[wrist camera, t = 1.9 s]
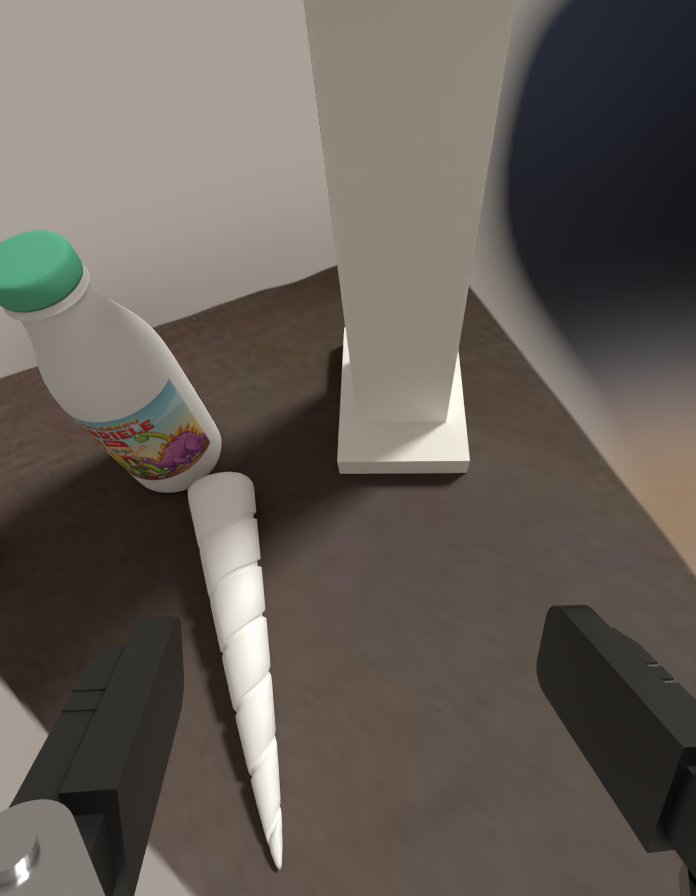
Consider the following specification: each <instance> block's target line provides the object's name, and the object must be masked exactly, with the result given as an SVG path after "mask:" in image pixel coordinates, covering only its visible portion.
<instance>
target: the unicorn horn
mask: <svg viewBox="0 0 696 896" xmlns="http://www.w3.org/2000/svg"><path fill="white" fill-rule="evenodd" d="M188 502H189V506H190V511H191V515H192V520H193V524H194V529H195V534H196V538H197V543H198V547H199V548H200V557H201V562H202V567H203V572H204V576H205V581H206V586H207V591H208V595H209V598H210V604H211V610H212V614H213V619H214V624H215V628H216V633H217V637H218V642H219V647H220V651H221V652H222V653H223V655H222V660H223V665H224V670H225V674H226V679H227V683H228V687H229V692H230V696H231V701H232V705H233V709H234V710H235V711H236V712H237V714H236V722H237V727H238V731H239V735H240V739H241V743H242V747H243V752H244V756H245V760H246V764H247V768H248V772H249V774H250V775H251V776H252V779H251V784H252V788H253V792H254V796H255V800H256V803H257V807H258V811H259V815H260V818H261V822H262V826H263V829H264V833H265V836H266V840H267V842H268V845H269V846H270V852H271V855H272V857H273V860H274V863H275V865H276V867H277V868H278V869H279V870H280V869H281V866H282V819H281V809H280V800H281V799H280V784H279V769H278V755H277V742H276V738H275V731H276V728H275V715H274V703H273V690H272V679H271V674H270V672H268V671H269V668H270V655H269V644H268V633H267V622H266V618H265V617H263V616H262V613H263V612H264V611H265V600H264V589H263V579H262V568H261V566H259V567H258V563H257V560H260V559H261V558H260V547H259V537H258V526H257V519H255V518H253V515H255V513H256V504H255V492H254V486H253V483H252V481H251V480H250V479H249V478H248V477H247V476H246V475H243V474H241V473H237V472H221V473H215V474H211V475H207V476H204V477H202V478H200V479H198V480H196V481H195V482H194V483H193V484H192V485H191V486H190V487H189V489H188Z"/></svg>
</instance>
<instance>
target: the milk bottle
mask: <svg viewBox="0 0 696 896" xmlns="http://www.w3.org/2000/svg"><path fill="white" fill-rule="evenodd" d="M0 306H2V307H3V308H4V310H5V312H6V313H7V314H8V315H9V316H11V317H13V318H15V319H17V320H20V321H21V322H22V323H23V325H24V327H25V328H26V330H27V332H28V334H29V337H30V339H31V341H32V344H33V347H34V350H35V354H36V358H37V363H38V366H39V370H40V373H41V375H42V378H43V380H44V382H45V384H46V386H47V387H48V389H49V391H50V393H51V394H52V395H53V397H54V398H55V399H56V401H57V402H58V403H59V405H60V406H61V407H62V408H63V409H64V410H65V411H66V412H67V413H68V414H69V415H70V416H71V417H72V418H73V420H74V421H75V422H76V423H77V424H78V425H79V426H81V427H82V428H83V429H84V430H85V431H86V432H87V433H88V434H89V435H90V436H91V437H92V438H93V439H94V440H95V441H96V442H97V443H98V444H99V445H100V446H101V447H102V448H103V449H104V450H105V451H106V452H108V453H109V454H110V455H111V456H112V457H113V458H114V459H115V460H116V461H117V462H118V463H119V464H120V465H121V466H122V467H123V468H124V469H126V470H127V471H128V472H129V473H130V474H131V475H132V476H133V477H134V478H135V479H136V480H137V481H139V482H140V483H141V484H142V485H144V486H145V487H147V488H148V489H151V490H153V491H157V492H165V493H171V492H179V491H183V490H186V489H189V487H190V486H191V485H192V484H193V483H194V482H195V481H196V480H198V479H200V478H202V477H204V476H207V475H209V474H210V472H211V471H212V470H213V469H214V467H215V465H216V464H217V462H218V459H219V456H220V452H221V436H220V433H219V431H218V429H217V427H216V425H215V423H214V422H213V420H212V418H211V417H210V415H209V413H208V412H207V410H206V408H205V407H204V405H203V403H202V402H201V400H200V398H199V397H198V395H197V393H196V392H195V390H194V388H193V387H192V385H191V384H190V382H189V380H188V379H187V377H186V375H185V374H184V372H183V371H182V369H181V367H180V366H179V364H178V363H177V361H176V359H175V358H174V356H173V355H172V353H171V352H170V350H169V349H168V347H167V346H166V344H165V343H164V342H163V340H162V339H161V338H160V337H159V335H158V334H157V333H156V332H155V331H154V329H152V328H151V327H150V326H149V325H148V324H147V323H146V322H145V321H144V320H142V319H141V318H140V317H139V316H137V315H136V314H134V313H132V312H131V311H130V310H128V309H126V308H124V307H123V306H121V305H119V304H117V303H116V302H114V301H112V300H111V299H109V298H108V297H107V296H105V295H104V294H103V293H102V292H100V291H99V290H98V289H97V288H96V287H94V286H93V284H92V283H91V282H90V275H89V272H88V270H87V268H86V267H85V266H84V265H82V262H81V260H80V258H79V257H78V255H77V253H76V252H75V250H74V249H73V248H72V246H71V245H70V244H69V242H68V241H67V240H66V239H65V238H63V237H62V236H61V235H60V234H58V233H55V232H52V231H45V230H35V231H28V232H24V233H20V234H17V235H14V236H12V237H10V238H8V239H6V240H4V241H2V242H0Z"/></svg>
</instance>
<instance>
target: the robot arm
mask: <svg viewBox="0 0 696 896" xmlns="http://www.w3.org/2000/svg"><path fill="white" fill-rule="evenodd" d="M536 668H537V676H538V681H539V684H540V687H541V689H542V691H543V693H544V694H545V696H546V698H547V699H548V701H549V702H550V704H551V705H552V707H553V708H554V710H555V711H556V713H557V715H558V716H559V718H560V719H561V721H562V722H563V724H564V725H565V727H566V728H567V730H568V731H569V733H570V735H571V736H572V738H573V739H574V741H575V742H576V744H577V745H578V747H579V748H580V750H581V752H582V753H583V755H584V756H585V758H586V759H587V761H588V762H589V764H590V765H591V767H592V768H593V770H594V772H595V773H596V775H597V776H598V778H599V779H600V781H601V782H602V784H603V785H604V787H605V788H606V790H607V792H608V793H609V795H610V796H611V798H612V799H613V801H614V802H615V804H616V805H617V807H618V809H619V810H620V812H621V813H622V815H623V816H624V818H625V819H626V821H627V822H628V824H629V825H630V827H631V829H632V830H633V832H634V833H635V835H636V836H637V838H638V839H639V841H640V842H641V844H642V846H643V847H644V849H645V850H646V852H647V853H651V852H660V851H669V850H675V851H676V852H677V854H678V855H679V856H680V858H681V859H682V861H683V864H682V866H681V869H680V873H679V885H680V896H696V700H695V699H694V698H693V697H692V696H691V695H690V694H689V693H688V692H687V691H686V690H685V689H684V688H683V687H682V686H681V685H680V684H679V683H675V682H674V678H673V677H672V676H671V675H670V674H669V673H668V672H667V671H666V670H665V669H664V668H663V667H662V666H658V662H657V661H656V660H655V659H654V658H653V657H652V656H651V655H650V654H649V653H648V652H647V651H646V650H645V649H644V648H643V647H641V646H640V645H639V644H638V643H637V642H635V641H634V640H632V639H631V638H629V637H627V636H626V635H624V634H623V633H621V632H620V631H618V630H616V629H615V628H611V627H610V626H609V625H608V624H607V623H606V622H605V621H604V620H603V619H602V618H601V617H600V616H599V615H598V614H597V613H596V612H595V611H594V610H593V609H592V608H591V607H589V606H587V605H563V606H552V607H550V608H549V610H548V612H547V615H546V620H545V624H544V629H543V634H542V639H541V644H540V648H539V653H538V658H537V666H536ZM183 691H184V671H183V654H182V637H181V623H180V619H179V617H155V618H140V619H139V620H138V621H137V623H136V625H135V627H134V629H133V631H132V634H131V636H130V638H129V640H128V642H127V645H126V646H108V647H106V648H105V649H104V650H103V651H102V652H101V653H100V654H99V655H98V656H97V657H96V658H94V659H93V660H92V661H91V662H90V663H89V664H88V665H87V666H86V667H85V669H84V671H83V672H82V674H81V676H80V678H79V680H78V682H77V683H76V685H75V687H74V689H73V693H72V695H70V696H69V698H68V700H67V702H66V704H65V706H64V708H63V709H62V714H61V716H59V717H58V719H57V720H56V722H55V724H54V726H53V728H52V730H51V732H50V733H49V735H48V737H47V739H46V741H45V743H44V745H43V746H42V748H41V750H40V752H39V754H38V756H37V757H36V760H35V761H34V763H33V765H32V767H31V769H30V771H29V772H28V774H27V776H26V778H25V780H24V782H23V783H22V785H21V787H20V789H19V791H18V793H17V795H16V796H15V798H14V800H13V802H12V803H11V805H10V806H9V808H8V809H6V810H4V811H2V812H0V896H134V894H135V890H136V886H137V882H138V878H139V873H140V870H141V866H142V862H143V858H144V854H145V850H146V846H147V842H148V839H149V835H150V831H151V827H152V823H153V819H154V815H155V811H156V807H157V803H158V799H159V795H160V791H161V787H162V783H163V779H164V775H165V771H166V768H167V764H168V760H169V756H170V752H171V748H172V744H173V740H174V736H175V732H176V728H177V724H178V720H179V716H180V712H181V707H182V701H183Z"/></svg>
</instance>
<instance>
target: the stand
mask: <svg viewBox="0 0 696 896" xmlns="http://www.w3.org/2000/svg"><path fill="white" fill-rule="evenodd" d="M515 2H516V0H304V6H305V15H306V23H307V30H308V38H309V46H310V53H311V61H312V69H313V77H314V84H315V93H316V101H317V109H318V116H319V124H320V132H321V140H322V147H323V155H324V163H325V171H326V179H327V187H328V195H329V202H330V210H331V218H332V226H333V234H334V241H335V249H336V256H337V265H338V273H339V281H340V288H341V296H342V304H343V312H344V320H345V327H346V328H344V345H343V363H342V382H341V401H340V419H339V438H338V456H337V463H338V468H339V472H340V474H385V473H466V472H467V469H468V465H469V462H470V459H469V449H468V439H467V430H466V420H465V411H464V401H463V392H462V382H461V372H460V363H459V353H458V348H459V342H460V336H461V330H462V323H463V317H464V311H465V305H466V299H467V293H468V287H469V281H470V275H471V269H472V263H473V257H474V250H475V244H476V239H477V232H478V226H479V220H480V214H481V207H482V202H483V196H484V190H485V184H486V177H487V172H488V166H489V160H490V153H491V147H492V141H493V135H494V129H495V123H496V117H497V111H498V105H499V98H500V93H501V87H502V81H503V74H504V69H505V62H506V56H507V50H508V44H509V38H510V32H511V26H512V20H513V14H514V7H515Z"/></svg>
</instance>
